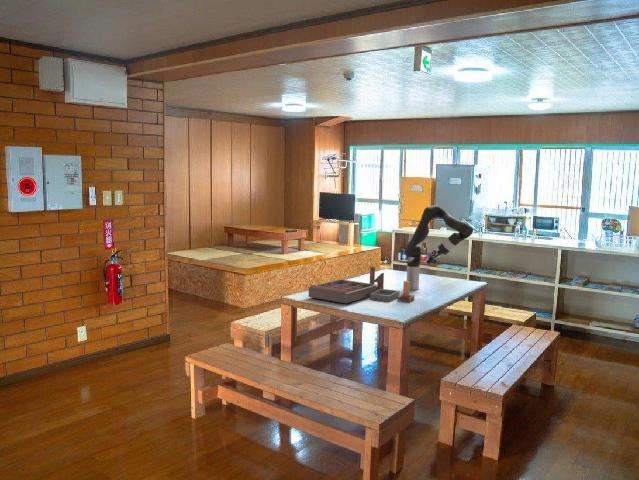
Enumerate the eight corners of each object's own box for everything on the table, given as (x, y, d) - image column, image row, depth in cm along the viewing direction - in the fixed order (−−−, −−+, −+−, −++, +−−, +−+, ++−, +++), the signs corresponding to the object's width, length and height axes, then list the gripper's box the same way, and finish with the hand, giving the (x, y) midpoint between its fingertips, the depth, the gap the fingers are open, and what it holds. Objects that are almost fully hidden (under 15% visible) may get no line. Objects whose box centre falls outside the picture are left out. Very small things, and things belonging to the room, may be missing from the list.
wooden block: (381, 292, 385) (381, 268, 383) (368, 290, 391) (368, 266, 389) (383, 291, 388) (384, 267, 386) (370, 290, 394) (371, 265, 392)
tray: (380, 294, 379) (381, 288, 379) (399, 296, 373) (399, 290, 373) (370, 299, 362) (370, 293, 361) (389, 301, 355) (389, 296, 355)
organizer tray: (377, 295, 375) (378, 282, 374) (346, 305, 343) (346, 290, 341) (340, 290, 393) (340, 276, 392) (306, 298, 361) (307, 284, 360)
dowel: (404, 299, 363) (404, 280, 362) (409, 300, 361) (410, 281, 360) (402, 300, 360) (402, 281, 358) (407, 301, 358) (408, 282, 356)
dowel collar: (401, 298, 366) (402, 294, 366) (414, 300, 362) (414, 295, 362) (397, 300, 359) (397, 296, 358) (410, 302, 355) (410, 298, 354)
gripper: (445, 241, 357) (428, 256, 364) (440, 242, 345) (422, 259, 351) (453, 249, 355) (435, 265, 362) (447, 251, 343) (429, 267, 349)
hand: (429, 262), depth 357 cm, fingers open, 8 cm apart
